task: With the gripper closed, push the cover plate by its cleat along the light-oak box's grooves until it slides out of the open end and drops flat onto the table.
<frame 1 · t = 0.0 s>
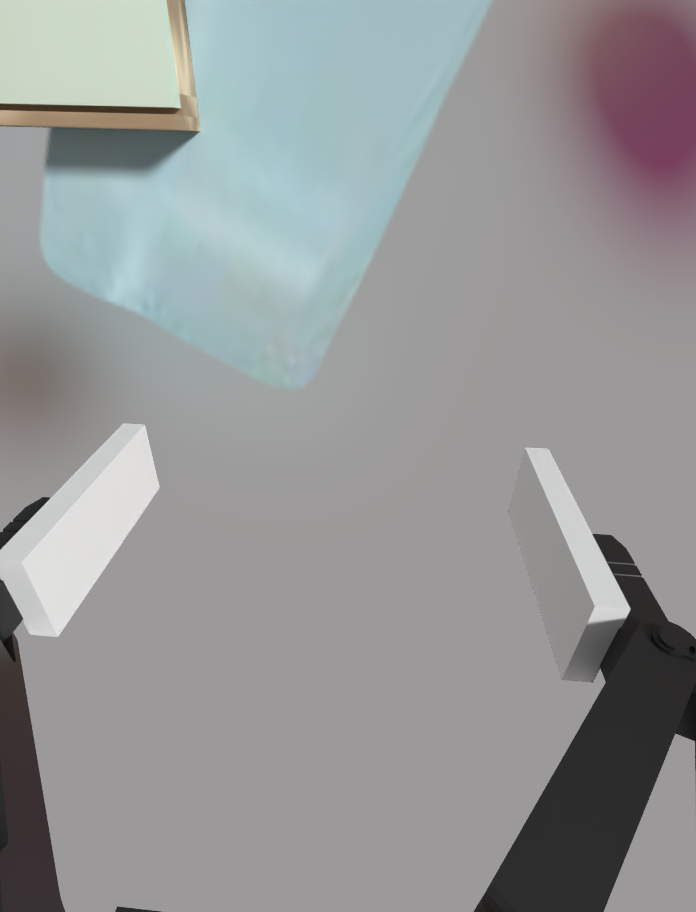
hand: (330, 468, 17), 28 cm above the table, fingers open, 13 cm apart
box: (67, 2, 32), on the table
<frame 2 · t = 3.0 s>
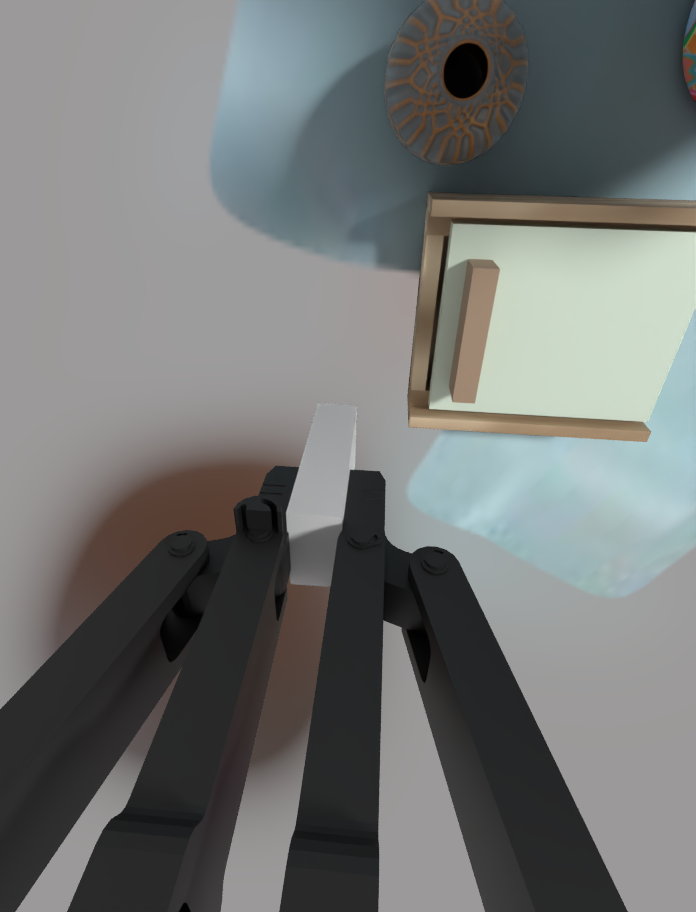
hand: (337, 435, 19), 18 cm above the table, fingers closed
lid: (554, 325, 30), point 3 cm above the table, touching box
vase: (446, 91, 27), on the table
box: (533, 311, 33), on the table
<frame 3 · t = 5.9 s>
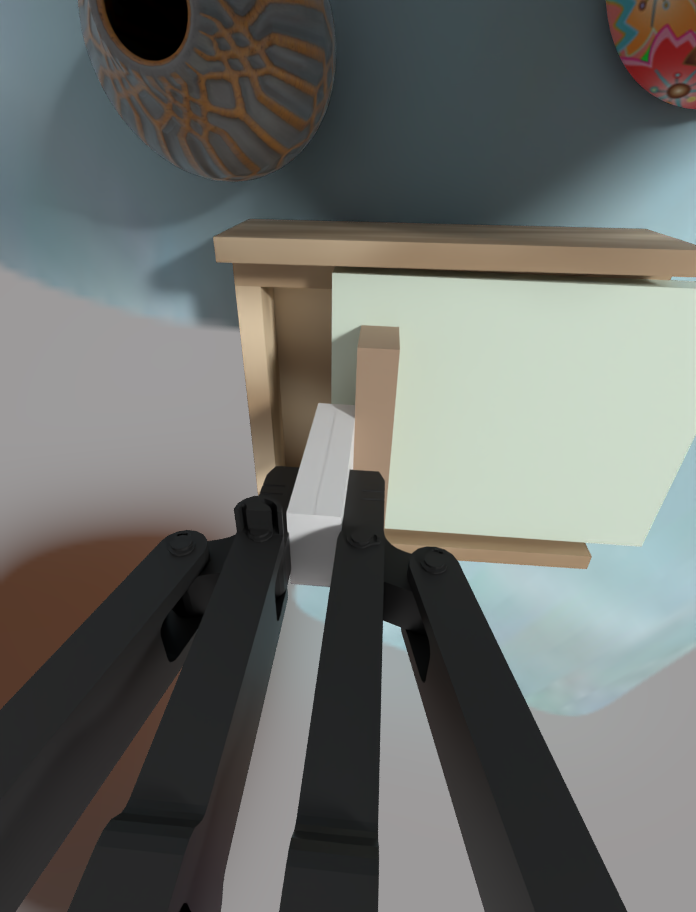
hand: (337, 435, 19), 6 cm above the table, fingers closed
lid: (502, 415, 21), point 3 cm above the table, touching box, gripper
vase: (251, 66, 17), on the table
box: (425, 382, 23), on the table
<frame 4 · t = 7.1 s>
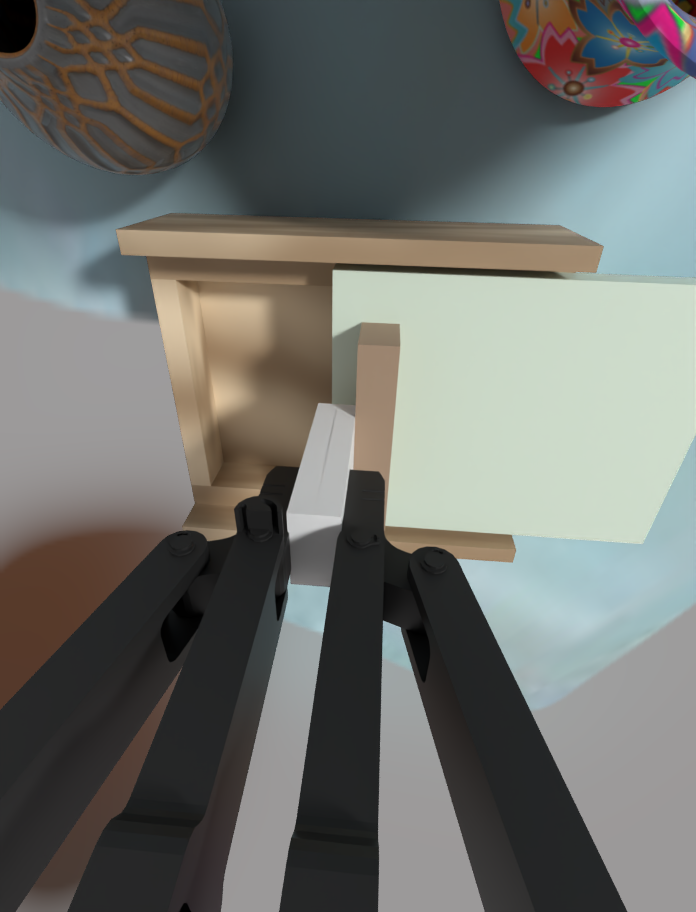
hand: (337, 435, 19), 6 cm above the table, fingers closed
lid: (503, 412, 21), point 3 cm above the table, touching box
vase: (162, 60, 18), on the table
box: (356, 377, 23), on the table
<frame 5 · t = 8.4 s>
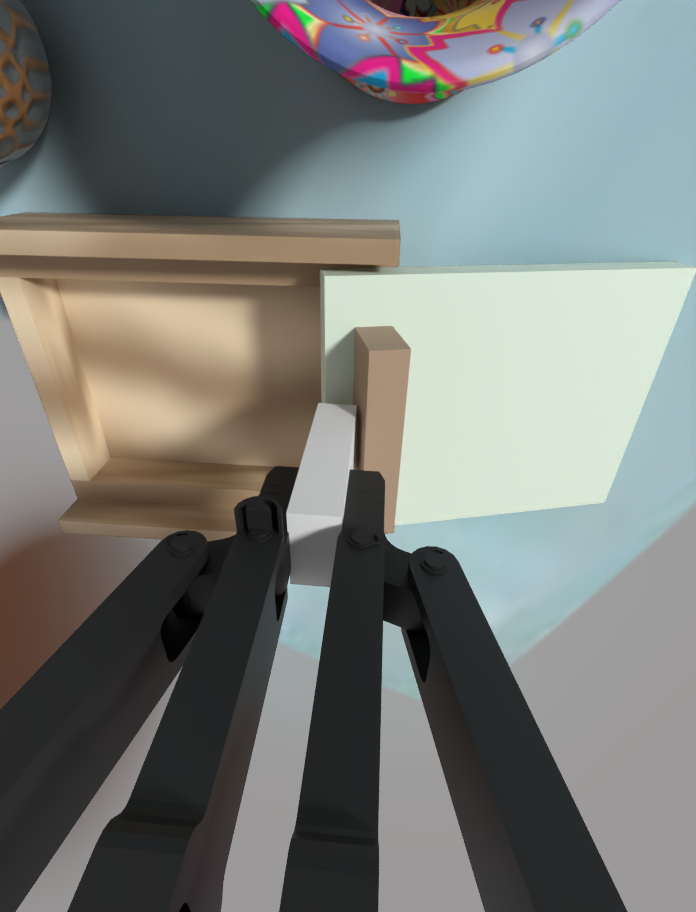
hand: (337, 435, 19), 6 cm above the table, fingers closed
lid: (482, 400, 22), point 2 cm above the table, tilted 15°, touching gripper
box: (228, 372, 24), on the table
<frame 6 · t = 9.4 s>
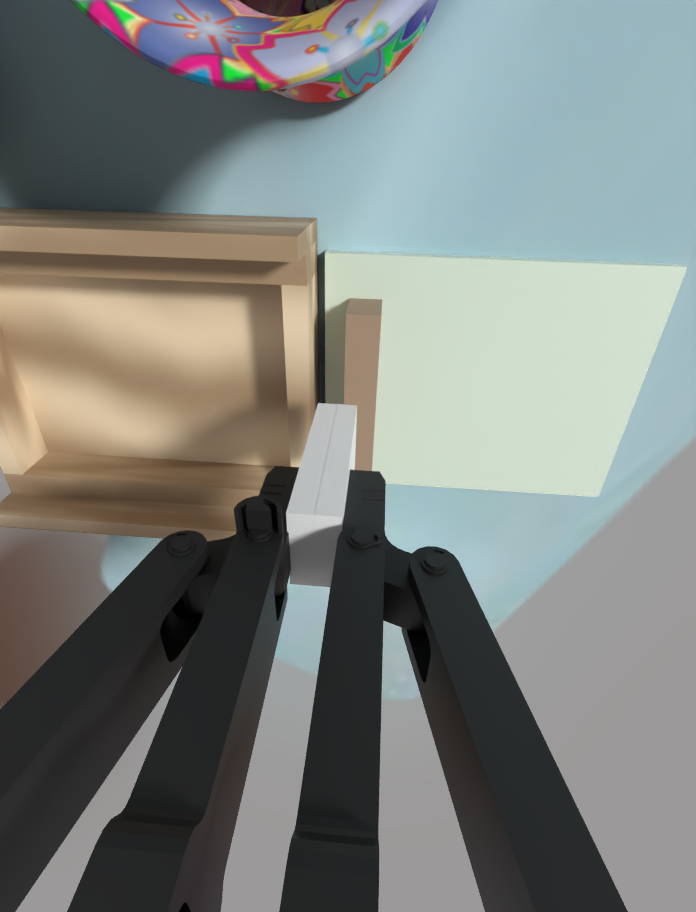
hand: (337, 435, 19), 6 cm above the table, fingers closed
lid: (474, 379, 24), on the table
box: (160, 367, 24), on the table
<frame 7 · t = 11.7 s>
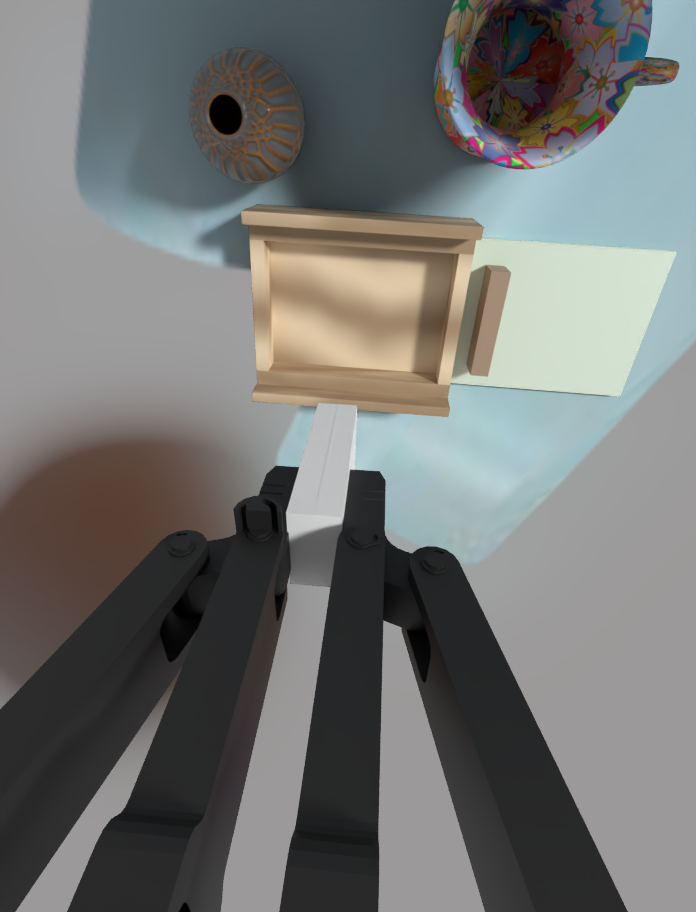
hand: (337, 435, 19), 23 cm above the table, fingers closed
lid: (549, 318, 39), on the table
mug: (519, 83, 31), on the table
vase: (262, 123, 33), on the table
box: (358, 306, 39), on the table
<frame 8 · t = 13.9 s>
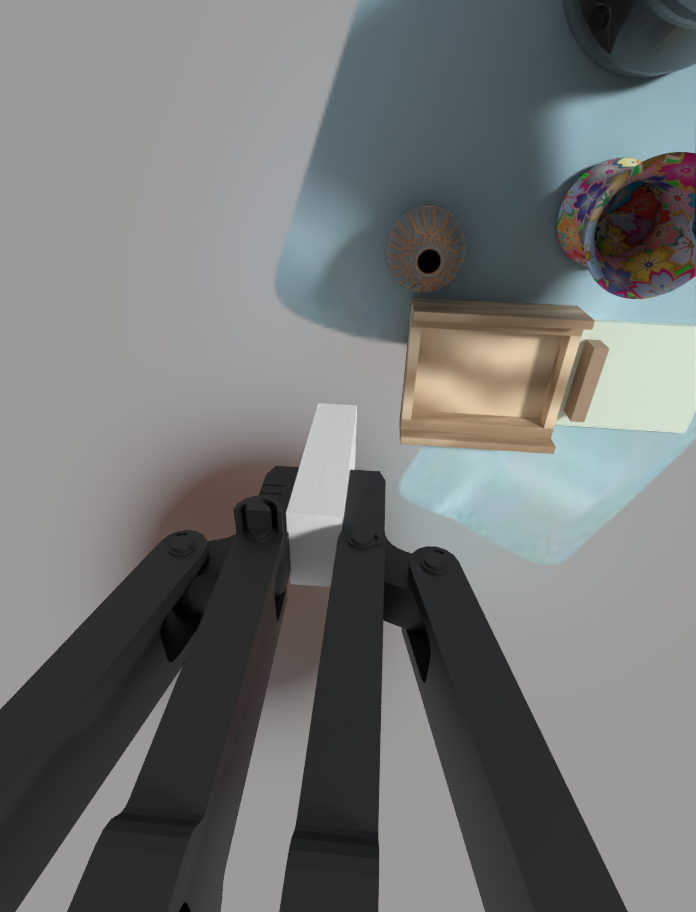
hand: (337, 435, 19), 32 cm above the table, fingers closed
lid: (630, 375, 50), on the table
mug: (620, 215, 42), on the table, touching arm
vase: (422, 242, 45), on the table
box: (481, 368, 51), on the table
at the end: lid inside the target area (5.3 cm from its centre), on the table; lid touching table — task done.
